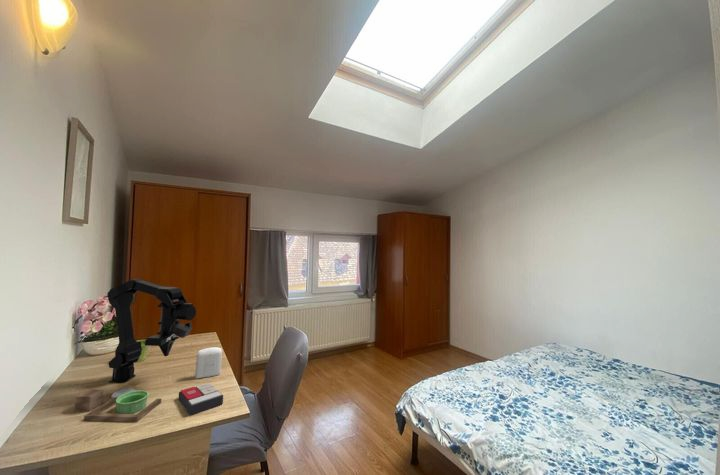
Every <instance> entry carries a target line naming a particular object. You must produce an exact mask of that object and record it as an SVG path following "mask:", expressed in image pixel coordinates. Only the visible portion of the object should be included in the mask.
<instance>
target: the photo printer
mask: <svg viewBox="0 0 720 475" xmlns="http://www.w3.org/2000/svg"><path fill="white" fill-rule="evenodd" d="M222 357H223V350H222V348H221V347H217V346H216V347H215V346H214V347H213V346H212V347H205V348H202V349H200V350H198V351H197V355H196V361H195V372H194V378H195V379H202V378H203V379H204V378H208V377H214V376H218V375H220V374H221V370H222V361H223V360H222V359H223V358H222Z"/></svg>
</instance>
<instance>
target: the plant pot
mask: <svg viewBox="0 0 720 475" xmlns="http://www.w3.org/2000/svg"><path fill="white" fill-rule="evenodd" d="M145 340H146V339H140V340H136V341H137V342H139V341H140V342H141V347H142V351H141V355H140V357H139V359H138V361H137V362H134V364H136V363H141V362H143V361H144V360H146V357H147V353H148V349H149V346H147V345H145Z"/></svg>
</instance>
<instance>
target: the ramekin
mask: <svg viewBox="0 0 720 475" xmlns="http://www.w3.org/2000/svg"><path fill="white" fill-rule="evenodd" d="M148 397H149V392H148V391H147V390H140V389H139V390H135V391H132V392H128V393H126V394H123V395H121V396H120V397H118V398H117V399H116V403H115V404H116V414H138V413H139V412H140V411H142V410H143V409H144V408H145V407H147V403H148V402H147V400H148Z"/></svg>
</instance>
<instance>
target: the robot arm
mask: <svg viewBox="0 0 720 475" xmlns="http://www.w3.org/2000/svg"><path fill="white" fill-rule="evenodd" d="M138 292H141V293H145V294H147V295H151V296H153V297H156V300H158V301H159V302H160V303H159V304H157V307H158V308H161V311H160V312H161V315H160V320H159V321H158V322H157V325H160V326H159V331H157V333H156V334H157V335H156V334H153V335H151V336H149V337H147V338H146V339H144V340H145V345H147V346H148V347H149V346H150V347H151V346H154V347H158V348H160V351H161V352H162V355H163V356H164V357H168V356H169V354H170V352H171V349H172V347H173V345H174V343H175V342H176V341H177V340H178V339H179V338H180V339H181V338H182V339H183V338H184V339H185V337H187V336H189V335H190V333H191V332H192V331H193V323H192V322H190V321H191V320H192V321H193V320H194V318H195V317H196V314H197V309H196V307H195V306H194V303H193V302H189V303H188V301H187V299H186V298H185V296H184V293H183V292H182V290H181V288H180V287H178V286H177V287H175V286H162V285H159V284H156V283H152V282H150V281H145V280H143V279H142V278H134V279H129V280H128V281H126V282H124V283H122V284H120V285H117V286H115V287H112V288H111V289H110V290H109V291H108V292H107V294H106V295H107V296H106V297H107V300H108V303H109V304H110V305H111V306H112V308H114V310H115V311H114V312H115V318H116V319H115V320H116V327H117V335H118V344H117V346H116V348H115V354H114V357H113V358H112V359H110V361H109V362H108V368H109V369H112V378H111V379H109V381H108V383H122V384H123V383H126V382H128V381H130V380H131V379H133V378H135V377H136V376H137V375H136V374H135V366H134V365H135V362H137V361H138V359H139V357H140V355H141V351H142V347H141V342H140V341H139V342H137V341H138V340H136V339H135V335H134V326H133V319H132V311H131V304H132V303H133V301H134V298H135V297H134V295H135V294H136V293H138ZM183 320H184V321H189V322H186V323H185V324H184V323H181V321H183ZM137 363H138V362H137Z"/></svg>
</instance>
